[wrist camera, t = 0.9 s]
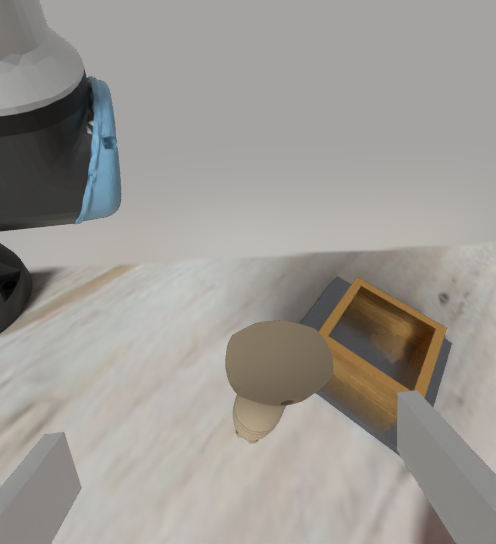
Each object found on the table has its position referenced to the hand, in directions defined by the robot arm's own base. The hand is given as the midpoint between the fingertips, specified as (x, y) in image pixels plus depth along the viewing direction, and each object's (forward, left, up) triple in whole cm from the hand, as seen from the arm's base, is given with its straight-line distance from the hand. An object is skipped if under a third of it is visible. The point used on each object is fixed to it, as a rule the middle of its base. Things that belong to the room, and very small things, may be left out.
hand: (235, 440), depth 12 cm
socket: (+5, +21, -18) cm, 28 cm away
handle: (-1, +6, -18) cm, 19 cm away
